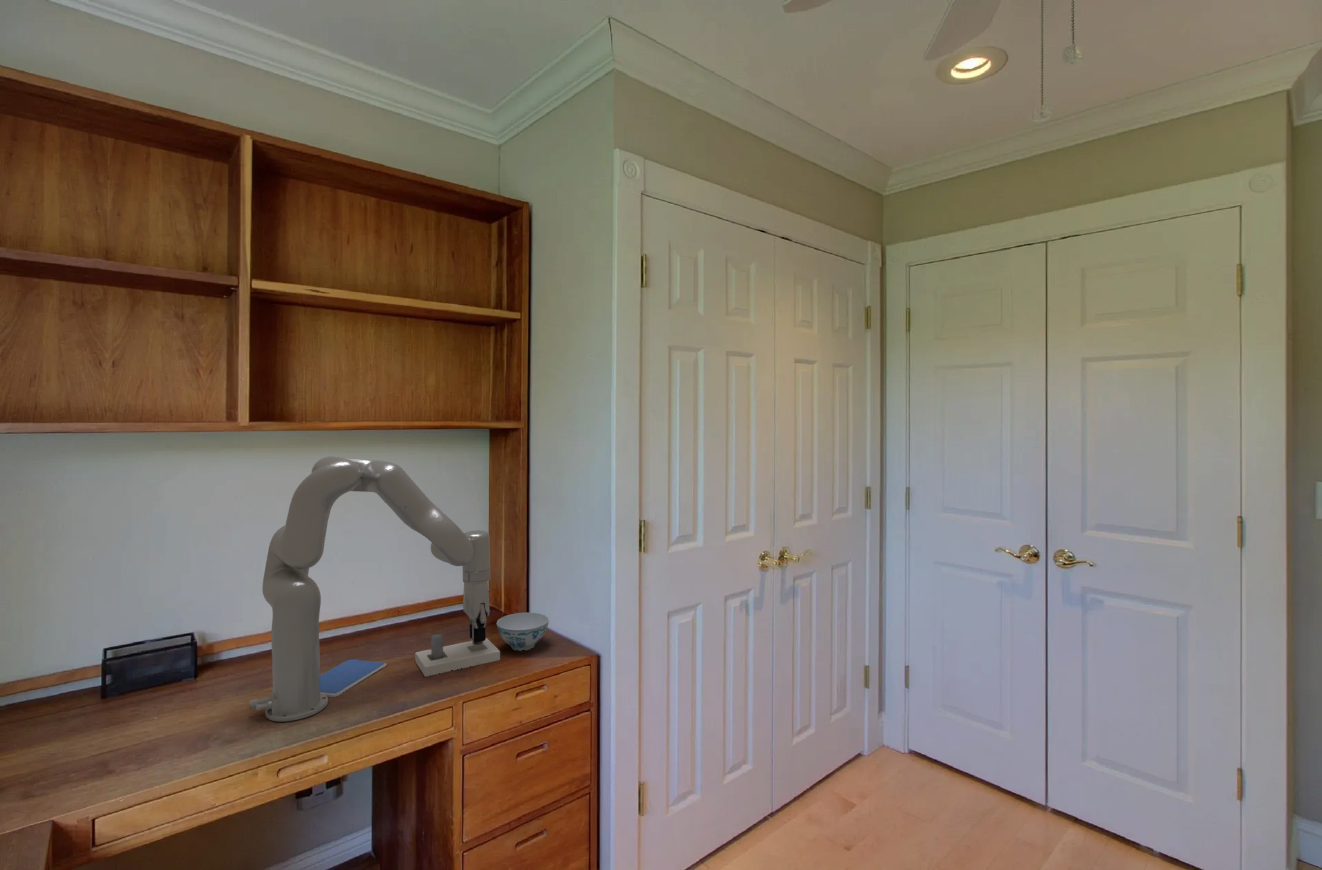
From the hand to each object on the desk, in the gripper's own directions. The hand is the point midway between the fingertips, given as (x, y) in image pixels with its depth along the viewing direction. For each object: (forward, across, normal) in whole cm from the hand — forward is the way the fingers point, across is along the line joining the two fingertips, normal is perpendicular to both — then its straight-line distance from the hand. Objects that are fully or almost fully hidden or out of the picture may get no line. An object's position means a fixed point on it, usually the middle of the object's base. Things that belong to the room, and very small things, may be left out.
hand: (477, 638), depth 176 cm
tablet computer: (+6, -5, -34) cm, 35 cm away
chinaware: (+5, 0, +13) cm, 14 cm away
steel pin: (+1, 0, 0) cm, 1 cm away
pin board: (+5, 0, -6) cm, 8 cm away
